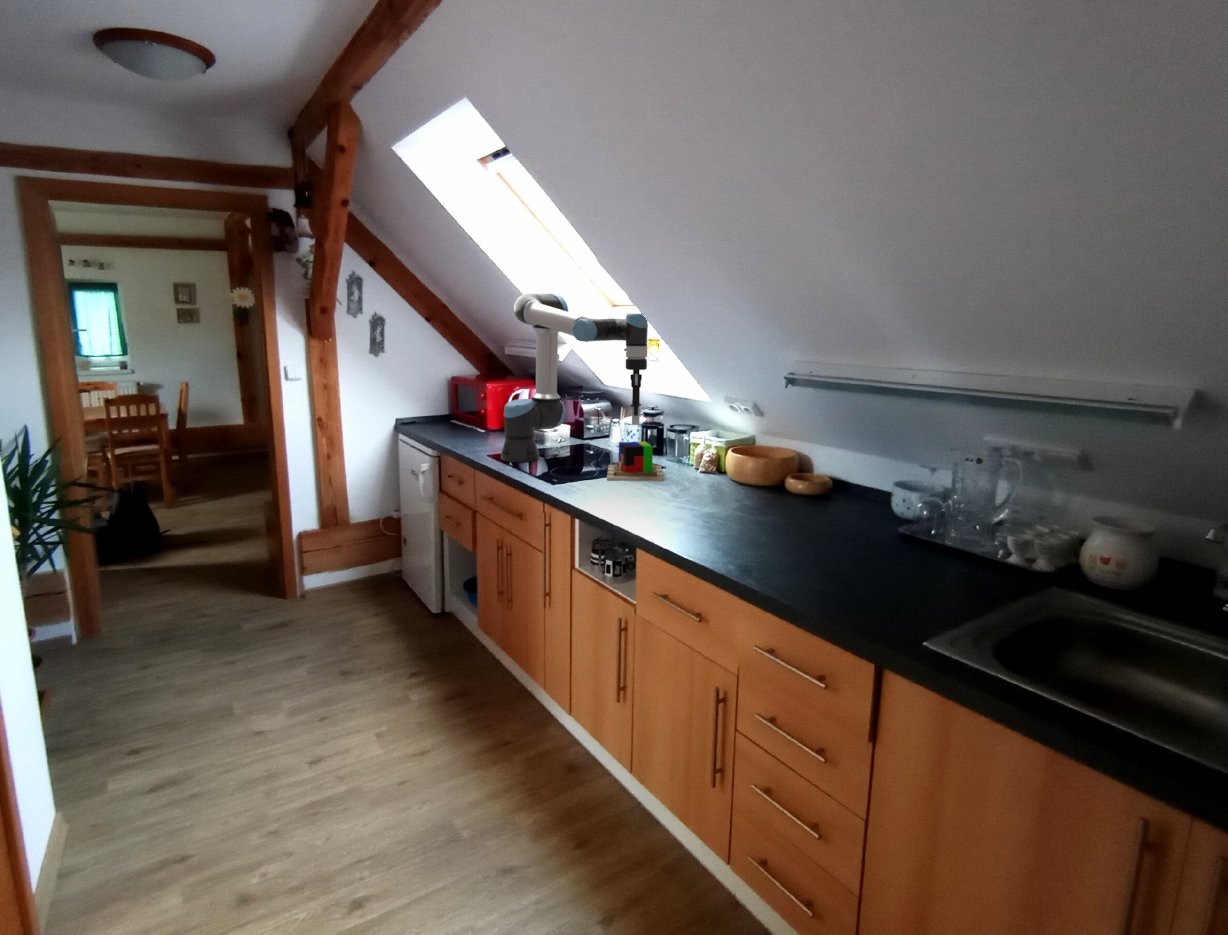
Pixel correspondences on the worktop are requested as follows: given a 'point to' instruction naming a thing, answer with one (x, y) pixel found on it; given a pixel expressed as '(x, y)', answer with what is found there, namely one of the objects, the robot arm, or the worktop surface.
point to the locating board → (635, 474)
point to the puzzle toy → (635, 457)
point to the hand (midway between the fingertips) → (635, 424)
